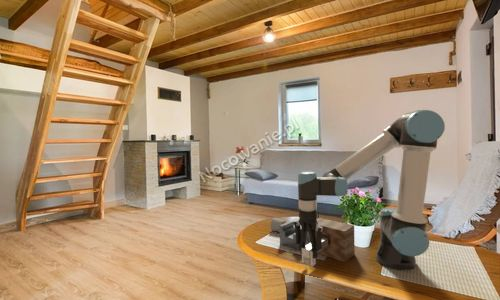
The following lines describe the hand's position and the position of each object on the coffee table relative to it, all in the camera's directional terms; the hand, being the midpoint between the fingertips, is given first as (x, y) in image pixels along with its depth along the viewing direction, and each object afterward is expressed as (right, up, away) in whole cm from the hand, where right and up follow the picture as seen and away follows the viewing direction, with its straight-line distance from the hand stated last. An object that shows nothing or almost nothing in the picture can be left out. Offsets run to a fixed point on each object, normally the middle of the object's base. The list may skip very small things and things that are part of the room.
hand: (308, 263), depth 110 cm
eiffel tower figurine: (+15, -1, +41) cm, 44 cm away
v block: (-1, -1, +26) cm, 26 cm away
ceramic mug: (-7, -1, +46) cm, 46 cm away
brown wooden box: (+14, -1, +14) cm, 20 cm away
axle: (+4, +4, +4) cm, 7 cm away
